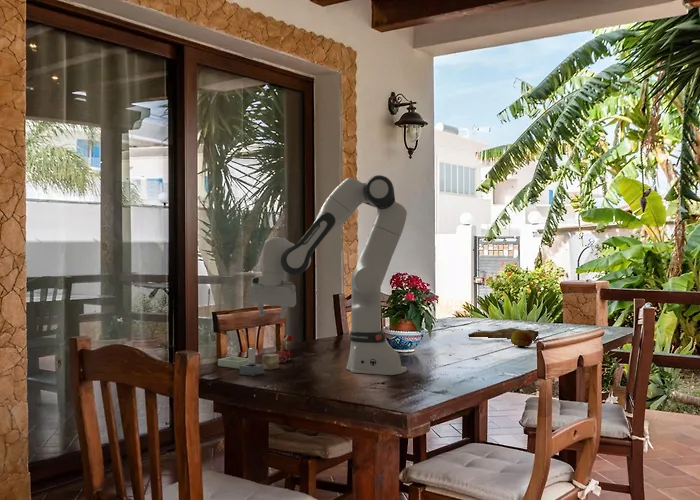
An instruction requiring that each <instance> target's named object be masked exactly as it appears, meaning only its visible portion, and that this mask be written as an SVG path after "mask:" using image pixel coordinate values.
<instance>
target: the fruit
mask: <svg viewBox="0 0 700 500" xmlns="http://www.w3.org/2000/svg"><path fill="white" fill-rule="evenodd" d="M521 330H522V329H520V330H516V331H514V332H513V334H512V336H511V342H510V343H512V345H513V344H514V346H515V345H518V346H529V347H530V346H531V345H532V344H533V343H532V336H531V334H530V332H528V331H521Z"/></svg>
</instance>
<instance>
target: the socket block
mask: <svg viewBox="0 0 700 500" xmlns="http://www.w3.org/2000/svg"><path fill="white" fill-rule="evenodd" d="M264 371H265V369H264V365H262V364H259V363H255V366H248V364H245V365H241V366H240V369H239V375H242V376H250V377H255V376H258V375H262V374H264Z"/></svg>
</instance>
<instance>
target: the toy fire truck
mask: <svg viewBox="0 0 700 500" xmlns="http://www.w3.org/2000/svg"><path fill="white" fill-rule="evenodd" d="M294 340H295V339H294V335H292V334H291V335H289V334H288V335H287V334H283V340H281V346H282V349H281V350H277V351H276V354H279V364H280V363H283V364H285V363H286V362H289V361H290V360H291V352H290V351H291V350H290V349H288V344H287V342H293V341H294Z"/></svg>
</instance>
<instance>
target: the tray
mask: <svg viewBox="0 0 700 500" xmlns="http://www.w3.org/2000/svg"><path fill="white" fill-rule="evenodd" d="M245 364H248V357H247V358H246V357H239V356H238V357H237V356H228V357H224V358H218V359H217V366H218V367H223V368H231V369H239V370H240V366H241V365H245Z"/></svg>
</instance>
